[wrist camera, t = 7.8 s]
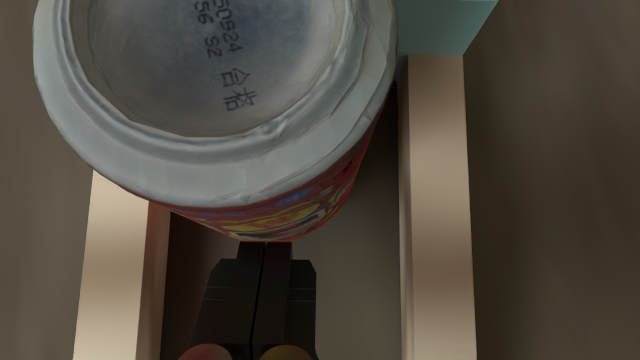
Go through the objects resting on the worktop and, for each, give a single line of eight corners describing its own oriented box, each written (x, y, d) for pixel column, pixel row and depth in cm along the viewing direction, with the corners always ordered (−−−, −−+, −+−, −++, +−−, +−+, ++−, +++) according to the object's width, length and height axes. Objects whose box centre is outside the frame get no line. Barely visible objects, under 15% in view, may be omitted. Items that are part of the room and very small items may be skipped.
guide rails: (463, 574, 16) (489, 627, 14) (85, 568, 17) (45, 619, 14) (444, 59, 20) (461, 29, 18) (134, 54, 20) (109, 24, 18)
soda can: (223, 275, 18) (72, 271, 7) (166, 121, 20) (-42, -94, 8) (382, 208, 19) (480, 104, 8) (317, 62, 20) (316, -215, 9)
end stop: (445, 81, 20) (498, 1, 14) (133, 77, 20) (55, -6, 14) (443, 15, 21) (492, -89, 15) (139, 11, 21) (67, -95, 15)
